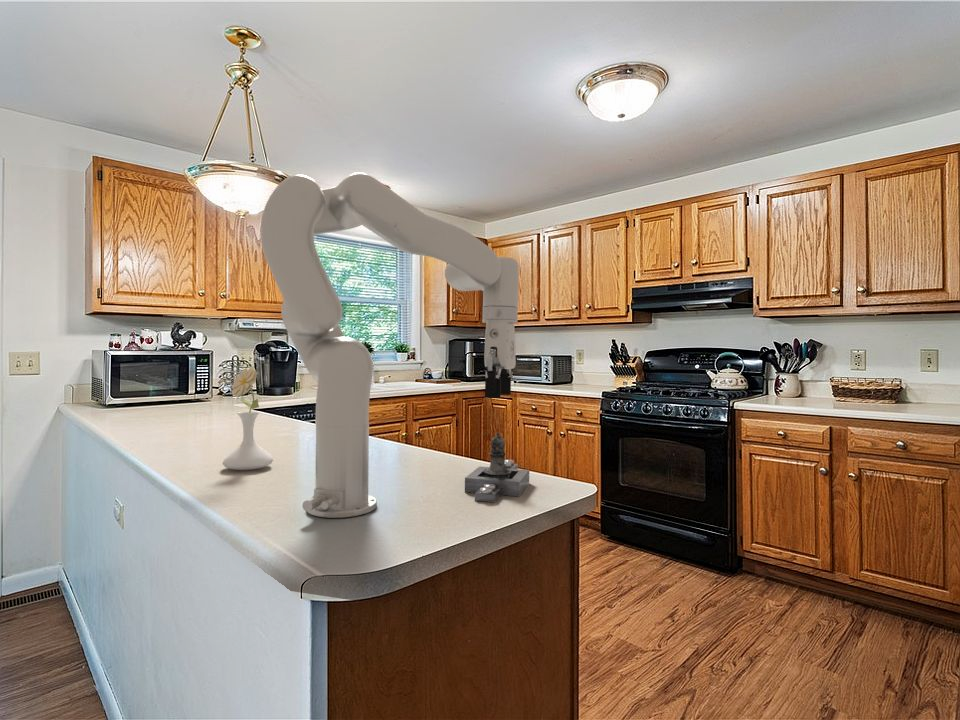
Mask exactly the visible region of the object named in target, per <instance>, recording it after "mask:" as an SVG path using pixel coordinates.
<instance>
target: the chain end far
mask: <svg viewBox="0 0 960 720" xmlns="http://www.w3.org/2000/svg"><path fill="white" fill-rule="evenodd" d="M518 464H519V463H515V461H514V460H513V459H505V467H506V469H508V470H510V471H511V473H510V476H509V477H512V479H505V478H491V477H485V473H484V470H486V469H488V468H489V467H490V466H482V465H481V466H478V467H477V468H475V469H474V470H473V471H472V472H471V473H469V474H467V476H465V477H464V486H465V485H471V486H483V487H484V485H485V484H494V485H496V486H495V488H508V489H520V488H521V487H522V485H523V484H524V483H525V482H526V480H527V479H528V478H529V479H530V469H520V468H519V465H518Z"/></svg>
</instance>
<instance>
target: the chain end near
mask: <svg viewBox="0 0 960 720" xmlns="http://www.w3.org/2000/svg"><path fill="white" fill-rule="evenodd" d="M485 477H486V476H485ZM509 479H512V477H509ZM529 484H530V477H529V478H528V479H527V480H526V482H525V483H524V484H523V485H522V487H521V488H520V489H508V488H495V486H496V485H494V484H485V485H484V487H483V486H471V485H465V484H464V493H468V492H473V493H472V494H474V501H475V502H482V501H487V502H486V503H493V502H495V501H496V502H497V501H498V500H499V498H501V497H502V496H503V495H508V496H507V497H515V496H519V497H520V496H521V495H522V494H523V493H524V491H525V490H526V489H527V487H528V486H529ZM527 485H528V486H527ZM526 486H527V487H526ZM524 489H525V490H524ZM521 493H522V494H521ZM496 502H495V503H496Z"/></svg>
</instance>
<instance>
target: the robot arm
mask: <svg viewBox="0 0 960 720" xmlns="http://www.w3.org/2000/svg"><path fill="white" fill-rule="evenodd" d="M261 218H262V219H261V224H260V241H261V247H262V252H263V255H264V258H265V260H266V263H267V266H268V268H269V269H270V272H271V274H272V277H273V278H274V281H275V282H276V283H275V284H276V285H277V287H278V289H279V292H280V293H281V296H282V298H283V301H282V303H281V309H280V310H281V311H280V312H281V318H282V323H283V324H284V327H285V330H286V332H287V333H288V335H289V337H290V339H291V341H292V344H293V345H294V347H295V349H296V352H298V355H299V357H300V360H301V361H302V363H303V364H304V366H305V369H306V370H307V371H308V374H309V375H310V376H311V377H312V378H313V379H314V380H315V381H316V382H317V390H316V400H315V423H314V424H315V488H314V489H313V496H312V497H310V498H308V499H306V500H304V501H303V502H302V508H303V511H305V512H307V513H308V514H309V515H311V516H315V517H320V518H326V519H327V518H329V519H344V518H350V517H351V518H352V517H357V516H361V515H364V514H369V513H371V512H372V511H374V510H375V509H376V508H377V506H378V503H377V501H378V500H377V499H376V498H375V497H374V496H373V495H369V483H370V482H369V479H370V478H369V477H370V475H369V470H370V469H369V468H370V467H369V465H370V464H369V463H370V462H369V459H370V456H369V454H370V453H369V452H370V447H369V446H370V423H369V422H370V398H371V397H370V396H371V389H372V379H373V372H374V369H373V367H374V366H373V364H374V363H373V360H372V356H371V353H370V351H369V350H368V348H367V347H366V345H365V344H363V343H362V342H361V341H359V340H358V339H356V338H353V337H350V336H345V335H344V332H343V331H342V328H341V326H340V325H339V324H340V323H341V321H342V317H343V313H344V311H343V305H342V301H341V300H340V297H339V295H338V294H337V292H336V290H335V289H334V287H333V284H332V282H331V280H330V278H329V276H328V273H327V272H326V270H325V267H324V266H323V263H322V261H321V259H320V255H319V253H318V251H317V248H316V245H315V240H314V238H315V237H314V236H315V235H321V234H328V233H335V232H341V231H346V230H351V229H355V228H358V227H360V226H363V227H364V228H366V229H368V230H369V231H371V232H372V233H374V234H375V235H377V236H378V237H380V238H381V239H382V240H384V241H386V242H387V243H389V244H390V245H391V246H393V247H395V248H396V249H398V250H400V251H401V252H403V253H405V254H406V253H407V254H411V255H416V256H422V257H424V256H425V257H429V258H433V259H437V260H439V261H441V262H444V263H446V264H447V265H446V266H445V268H444V278H445V280H446V282H447V284H448V285H449V286H450V287H452V289H454V290H456V291H460V292H472V291H473V292H474V291H482V321H481V322H482V323H483V324H485V335H484V355H483V357H484V359H483V361H484V367H485V376H484V377H485V379H484V384H485V385H484V397H485V398H486V399H487V398H488V399H500V398H501V395H502V396H510V395H511V392H512V391H511V389H512V377H511V376H512V371H511V370H513V369H515V368H516V364H517V363H516V362H517V361H516V333H515V332H516V329H515V325H517V324H518V320H519V319H518V316H519V313H518V312H519V310H518V309H519V278H520V277H519V276H520V275H519V274H520V273H519V270H520V269H519V267H520V266H519V262H518V261H517V260H516V259H515V258H511V257H507V256H498V255H497V253H495V252H494V250H493V249H491V247H490V246H488V245H487V244H485V243H484V242H483V241H482V240H480V239H479V238H477V237H476V236H475V235H473V234H471V233H470V232H468V231H467V230H464V229H463V228H461V227H458V226H456V225H454V224H451V223H449V222H445V221H444V220H441V219H439V218H436V217H434V216H431V215H428V214H426V213H424V212H422V211H421V210H420V209H418V207H415V206H414V205H413V204H411V203H410V202H409V201H407V200H406V199H404V198H403V197H402V196H400V195H398V193H396V192H395V191H393V190H392V189H390V188H389V187H388V186H386V185H385V184H384V183H382V182H381V181H380V180H379V179H376V178H375V177H373V176H372V175H369V174H367V173H365V172H354V173H352V174H349V175H348V176H346V177H344V179H343V180H341V182H340V183H338V185H336V186H332V187H328V188H327V187H326V188H322V187H321V186H320V185H319V184H318V182H316V180H314V179H313V178H311V177H309V176H307V175H304V174H295V175H291V176H288V177H286V178H285V179H284V180H282V181H281V182H280V183H279V184H278V185H277V186H276V187H275V189H274V190H273V192H271V194H270V196H269V197H268V199H267V201H266V204H265V207H264V209H263V213H262V216H261Z"/></svg>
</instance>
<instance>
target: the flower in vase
mask: <svg viewBox="0 0 960 720" xmlns="http://www.w3.org/2000/svg"><path fill="white" fill-rule="evenodd" d="M257 375H258V372H257V370H256V369H255V367H252V366H250V367H249V368H247V367H244V369H243V370H241V371H240V373H238V374H236V378H235V379H234V381H233V384H232V385H231V388H232V390H231V395H233V396H234V397H235V398H237V397H238V398H239V397H241V398H240V399H241V400H240V401H241V403H243V404H244V405H246V406H247V407H249V410H244V411H238V412H237V415H238V416H239V418H240V420H241V422H242V430H243V431H242V433H243V434H242V435H243V436H242V441H241V444H240V445H238V447H236V448H235V449H234V450H232V452H230V453H229V454H228V455H227V456H226V457H225V458H224V459H223V462H222V465H223V467H224V468H225V469H226V468H227V469H229V470H233V471H234V470H235V471H250V470H251V471H252V470H257V469H263V468H265V467H267V466H270V465H272V463H273V461H274V459H273V458H274V457H273V456H272V455H271V454H270V453H269V452H268V451H266V450H265V449H264V448H262V447H261V446H260V445H258V444H257V443H256V441H255V440H254V439H255V438H254V428H255V422H256V419H257V417H258V415H259V414H260V411H257V410H253V409H257V408H259V407H260V405H259V399H258V398H255V395H254V392H253V389H252V387H253V384H256V380H257V377H258V376H257ZM249 391H250V393H251V396H252V402H250V401H248V400H246V399H245V398H244V397H243V396H245V394H246V393H248V392H249Z"/></svg>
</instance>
